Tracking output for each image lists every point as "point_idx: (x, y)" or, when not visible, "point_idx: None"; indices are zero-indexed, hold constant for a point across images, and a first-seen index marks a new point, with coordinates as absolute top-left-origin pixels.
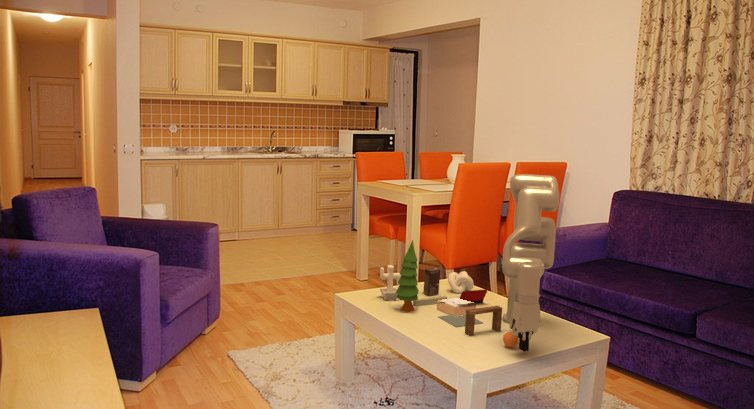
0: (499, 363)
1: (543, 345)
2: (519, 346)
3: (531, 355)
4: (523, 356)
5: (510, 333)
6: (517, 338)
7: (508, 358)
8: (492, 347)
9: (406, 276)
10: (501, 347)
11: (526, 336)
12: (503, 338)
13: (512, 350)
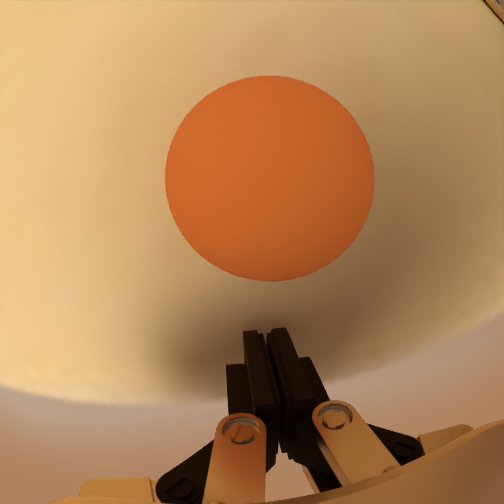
0: (43, 382)
1: (470, 251)
2: (226, 374)
3: None
4: None
5: (246, 215)
6: (316, 269)
7: (108, 362)
8: (96, 136)
9: None
10: None
11: (310, 460)
12: (171, 146)
13: None
